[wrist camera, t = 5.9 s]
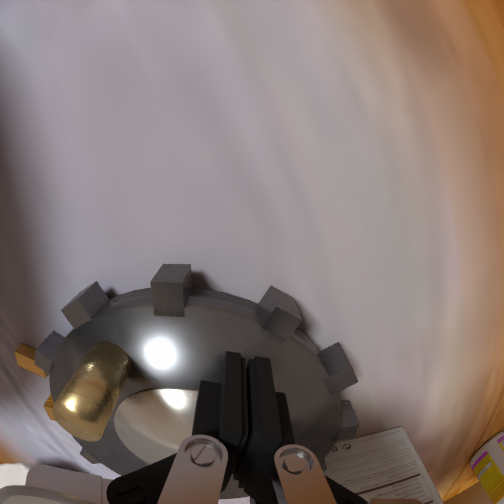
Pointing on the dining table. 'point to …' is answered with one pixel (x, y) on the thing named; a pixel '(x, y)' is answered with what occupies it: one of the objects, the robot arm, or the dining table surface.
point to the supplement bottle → (491, 467)
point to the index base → (28, 360)
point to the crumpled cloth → (14, 473)
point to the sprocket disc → (182, 369)
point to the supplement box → (381, 467)
